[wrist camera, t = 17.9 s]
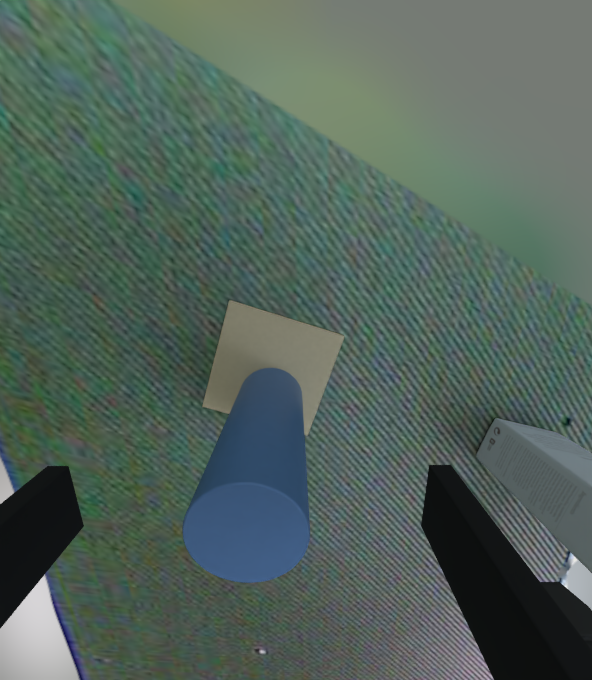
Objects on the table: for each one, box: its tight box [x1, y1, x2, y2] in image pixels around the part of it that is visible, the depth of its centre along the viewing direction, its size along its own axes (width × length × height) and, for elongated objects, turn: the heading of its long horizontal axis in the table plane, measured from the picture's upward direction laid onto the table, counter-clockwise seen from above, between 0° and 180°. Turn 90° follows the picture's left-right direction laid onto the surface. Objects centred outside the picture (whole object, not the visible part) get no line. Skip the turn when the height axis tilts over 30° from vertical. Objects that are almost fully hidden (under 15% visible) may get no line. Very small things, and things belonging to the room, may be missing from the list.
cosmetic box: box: [476, 418, 592, 573], centre depth 18 cm, size 6×4×12 cm
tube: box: [183, 368, 310, 583], centre depth 17 cm, size 12×5×5 cm
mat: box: [202, 300, 344, 436], centre depth 22 cm, size 9×9×1 cm
